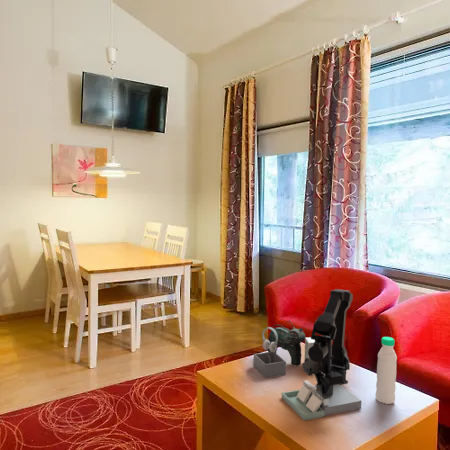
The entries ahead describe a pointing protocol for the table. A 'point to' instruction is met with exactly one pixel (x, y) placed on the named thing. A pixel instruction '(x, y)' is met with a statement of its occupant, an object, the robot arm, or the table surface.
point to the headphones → (267, 343)
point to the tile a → (304, 394)
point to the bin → (301, 406)
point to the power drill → (289, 342)
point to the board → (340, 401)
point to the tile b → (314, 403)
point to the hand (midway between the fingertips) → (322, 391)
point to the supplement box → (308, 346)
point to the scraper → (319, 391)
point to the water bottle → (386, 372)
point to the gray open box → (266, 369)
